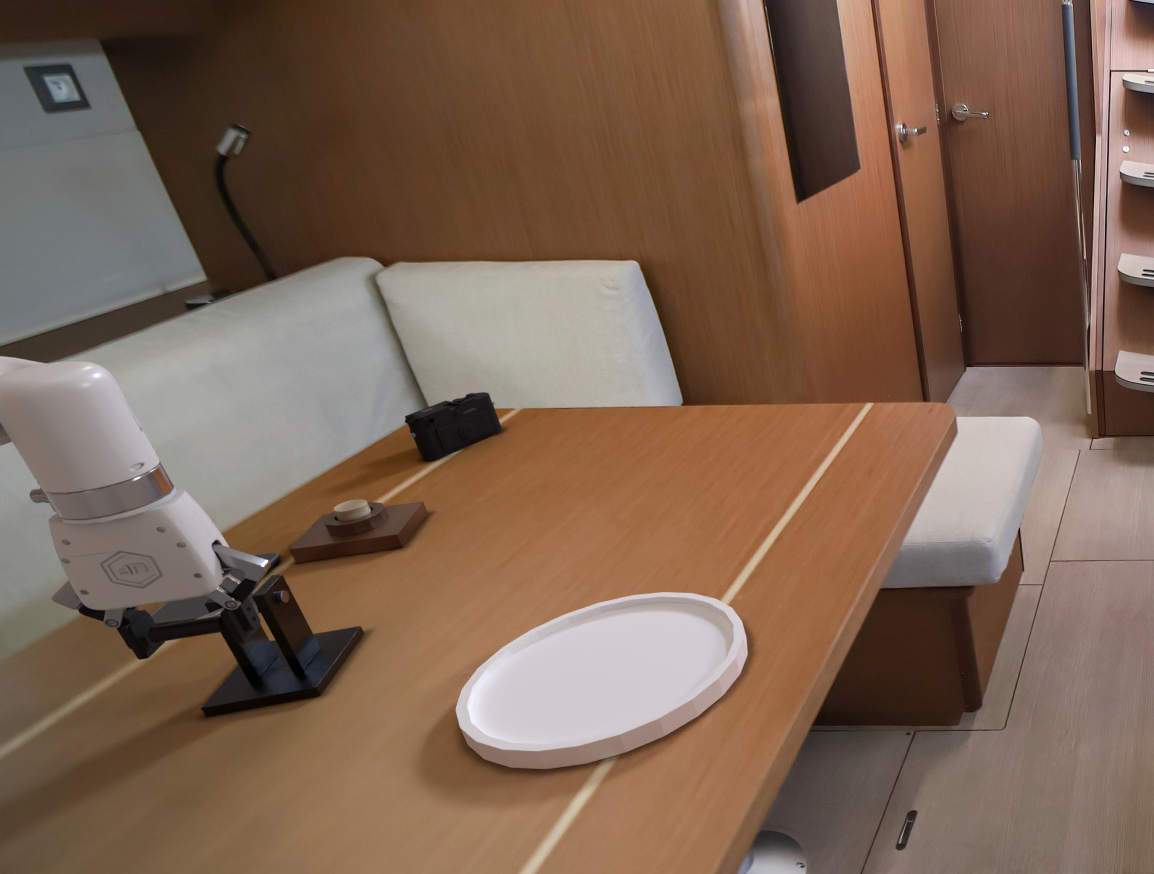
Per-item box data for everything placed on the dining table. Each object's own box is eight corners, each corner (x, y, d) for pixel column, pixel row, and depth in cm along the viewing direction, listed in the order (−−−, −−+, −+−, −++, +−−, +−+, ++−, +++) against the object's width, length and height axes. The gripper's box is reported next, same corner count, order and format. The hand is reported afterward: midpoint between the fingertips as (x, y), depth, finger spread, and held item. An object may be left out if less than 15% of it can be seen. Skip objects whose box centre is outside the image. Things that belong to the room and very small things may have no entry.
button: (333, 524, 133) (328, 513, 132) (344, 511, 136) (339, 501, 135) (365, 519, 134) (360, 509, 133) (375, 507, 137) (371, 497, 136)
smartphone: (136, 624, 116) (217, 557, 129) (140, 631, 117) (220, 563, 129) (211, 615, 118) (283, 550, 131) (215, 622, 118) (286, 556, 131)
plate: (646, 586, 127) (641, 571, 126) (800, 644, 116) (796, 628, 115) (406, 718, 104) (397, 700, 103) (570, 805, 94) (563, 786, 92)
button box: (295, 563, 130) (282, 538, 128) (328, 527, 138) (316, 503, 137) (403, 547, 134) (392, 523, 132) (428, 513, 142) (418, 490, 141)
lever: (222, 636, 97) (216, 614, 96) (151, 648, 95) (144, 625, 95) (292, 603, 108) (287, 583, 108) (230, 613, 106) (224, 592, 106)
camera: (480, 423, 171) (464, 382, 167) (511, 428, 169) (496, 387, 165) (397, 458, 158) (378, 414, 155) (430, 463, 157) (412, 419, 153)
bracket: (320, 695, 107) (274, 609, 102) (205, 716, 103) (151, 629, 98) (364, 633, 117) (325, 552, 112) (261, 651, 113) (215, 568, 108)
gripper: (-45, 527, 84) (63, 685, 92) (209, 495, 90) (291, 646, 97) (16, 488, 90) (112, 639, 98) (250, 461, 96) (324, 605, 104)
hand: (201, 641), depth 98 cm, fingers open, 7 cm apart
